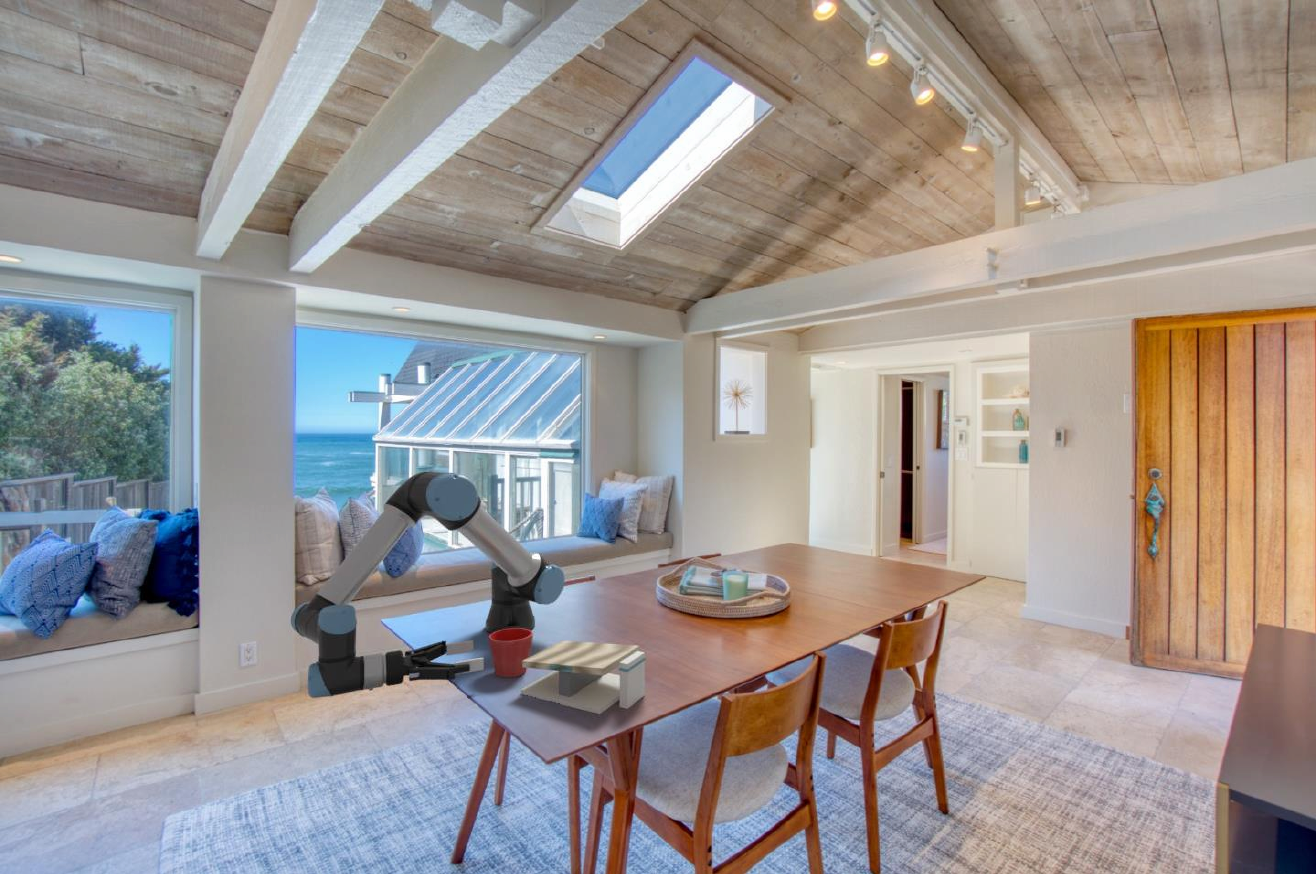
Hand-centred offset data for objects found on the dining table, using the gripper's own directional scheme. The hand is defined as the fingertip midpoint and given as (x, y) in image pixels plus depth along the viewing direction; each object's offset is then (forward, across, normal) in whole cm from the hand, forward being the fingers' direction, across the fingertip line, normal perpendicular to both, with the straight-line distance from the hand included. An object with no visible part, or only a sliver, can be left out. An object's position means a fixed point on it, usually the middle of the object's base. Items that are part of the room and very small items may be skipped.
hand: (478, 654), depth 149 cm
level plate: (+21, +18, +1) cm, 28 cm away
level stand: (+22, +20, -6) cm, 30 cm away
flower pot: (+8, 0, -6) cm, 10 cm away
